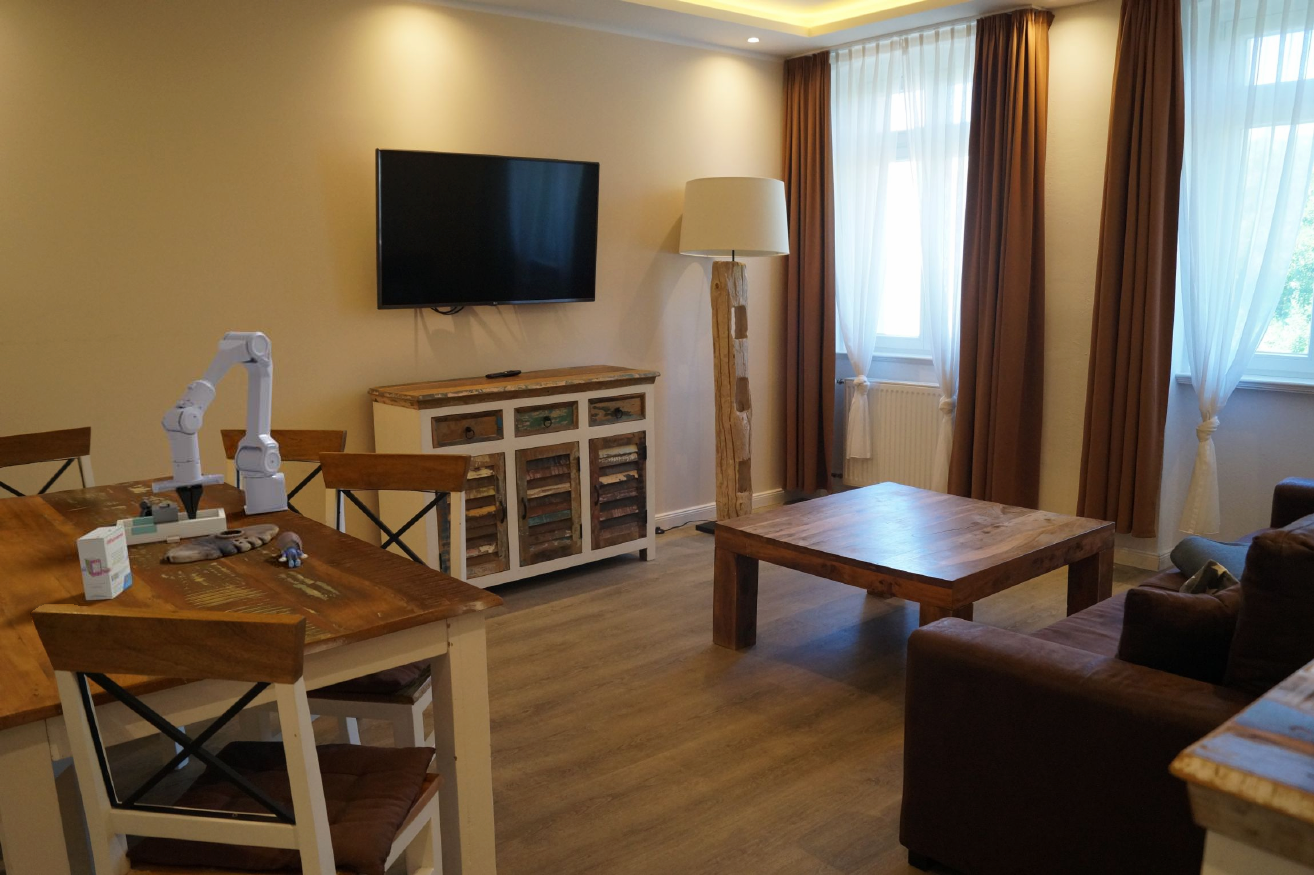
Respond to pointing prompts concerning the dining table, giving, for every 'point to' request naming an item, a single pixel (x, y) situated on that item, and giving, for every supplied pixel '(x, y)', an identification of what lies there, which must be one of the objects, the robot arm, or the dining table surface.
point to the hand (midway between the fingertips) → (192, 518)
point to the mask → (222, 543)
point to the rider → (165, 513)
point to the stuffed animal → (143, 510)
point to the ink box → (104, 562)
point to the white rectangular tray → (174, 527)
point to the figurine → (290, 548)
